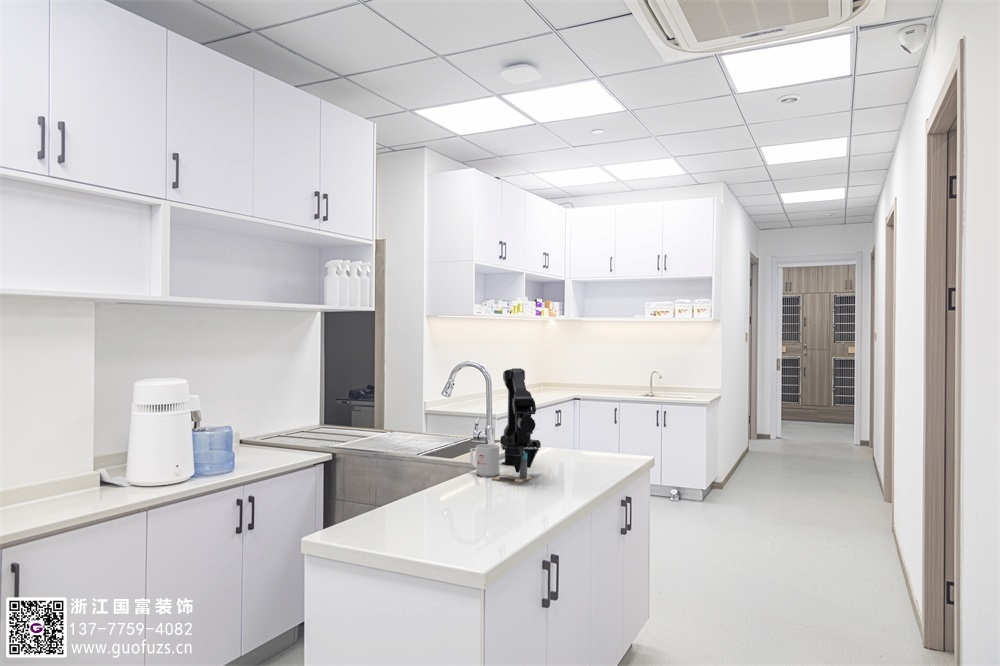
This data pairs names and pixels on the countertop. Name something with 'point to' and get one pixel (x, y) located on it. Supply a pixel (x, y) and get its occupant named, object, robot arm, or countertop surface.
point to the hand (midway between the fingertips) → (523, 469)
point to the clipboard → (512, 478)
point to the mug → (486, 460)
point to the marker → (523, 467)
